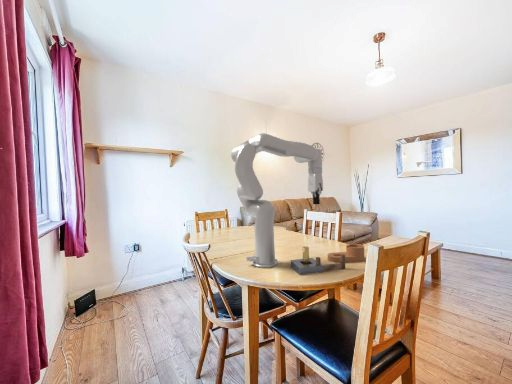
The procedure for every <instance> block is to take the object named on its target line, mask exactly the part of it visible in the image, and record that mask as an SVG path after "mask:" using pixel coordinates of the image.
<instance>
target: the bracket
mask: <svg viewBox="0 0 512 384" xmlns="http://www.w3.org/2000/svg"><path fill="white" fill-rule="evenodd" d="M345 248H346V251H343V252H342V251H341V252H340V251H339V252H329V253H328V254H327V261H328V262H330V263H333V264H335V263H341V259H340V255H342V254H343V255H345V264H346V263H359V262H360V263H361V262H364V261H365V258H366V257H365V246H364V245H363V244H359V243H348V244H346V245H345Z"/></svg>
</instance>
